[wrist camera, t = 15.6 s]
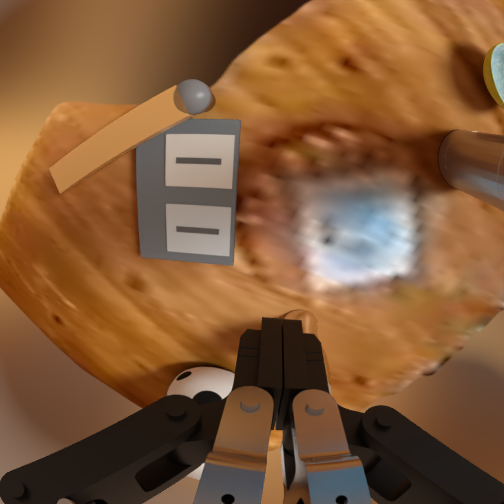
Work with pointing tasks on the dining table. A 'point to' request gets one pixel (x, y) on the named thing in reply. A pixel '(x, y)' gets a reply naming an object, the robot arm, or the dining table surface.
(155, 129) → the swing bar
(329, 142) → the dining table surface
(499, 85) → the bowl
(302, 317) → the beer glass
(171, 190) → the label board
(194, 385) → the milk container
